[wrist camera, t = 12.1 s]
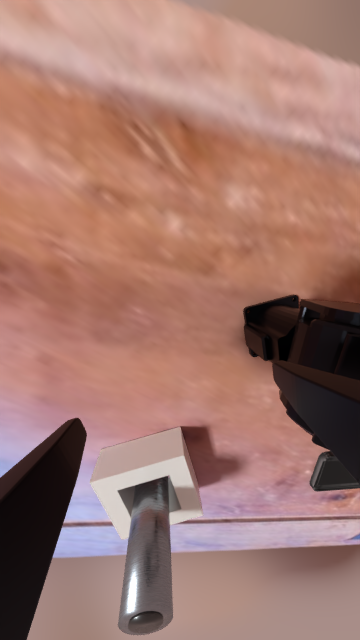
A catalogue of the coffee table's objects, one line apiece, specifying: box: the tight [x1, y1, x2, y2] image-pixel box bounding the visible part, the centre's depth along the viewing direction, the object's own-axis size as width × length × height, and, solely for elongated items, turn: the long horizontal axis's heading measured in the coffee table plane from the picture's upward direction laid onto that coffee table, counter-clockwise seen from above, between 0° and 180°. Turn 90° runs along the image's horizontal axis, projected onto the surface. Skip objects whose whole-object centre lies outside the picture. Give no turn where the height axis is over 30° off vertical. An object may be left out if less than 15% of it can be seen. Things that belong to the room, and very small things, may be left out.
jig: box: [90, 427, 203, 540], centre depth 24 cm, size 11×11×4 cm
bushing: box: [118, 476, 173, 635], centre depth 20 cm, size 4×4×12 cm
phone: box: [310, 451, 360, 491], centre depth 31 cm, size 8×1×15 cm
